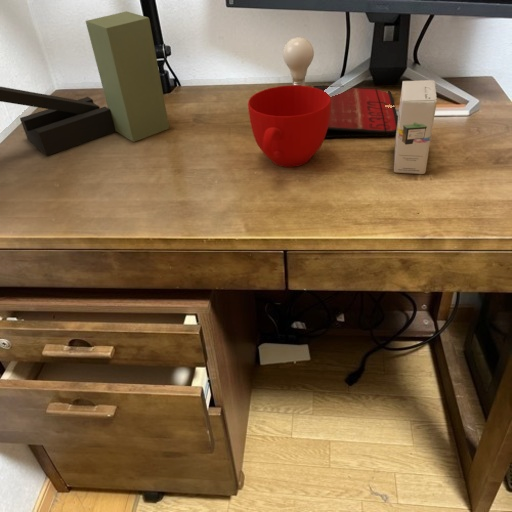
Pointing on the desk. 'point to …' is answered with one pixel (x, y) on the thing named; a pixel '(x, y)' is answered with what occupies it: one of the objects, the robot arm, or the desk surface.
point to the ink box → (414, 126)
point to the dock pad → (66, 128)
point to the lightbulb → (298, 58)
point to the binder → (361, 113)
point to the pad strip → (45, 101)
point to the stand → (129, 73)
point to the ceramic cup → (289, 122)
